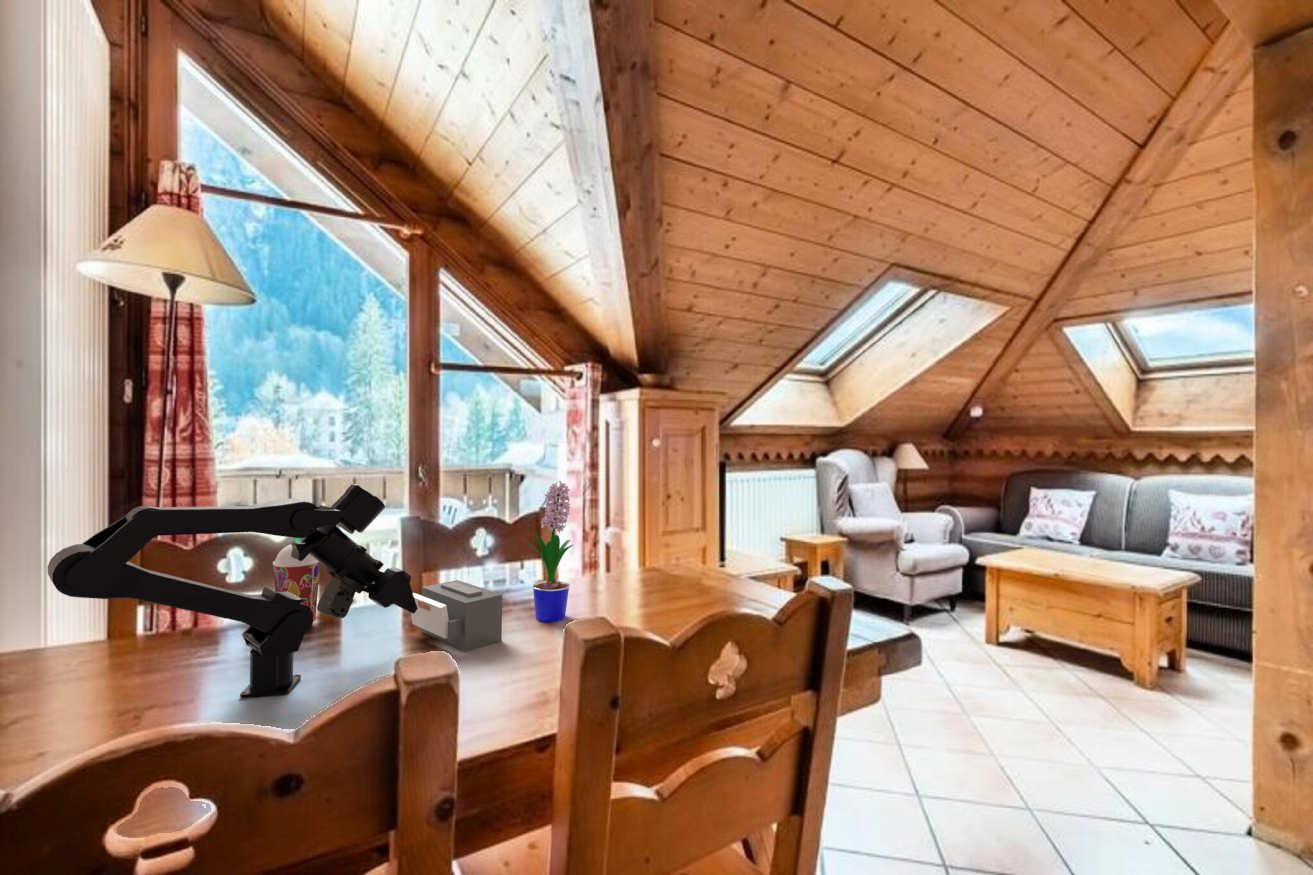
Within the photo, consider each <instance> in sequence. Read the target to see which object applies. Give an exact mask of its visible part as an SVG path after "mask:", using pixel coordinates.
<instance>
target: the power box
mask: <svg viewBox="0 0 1313 875" xmlns="http://www.w3.org/2000/svg"><path fill="white" fill-rule="evenodd" d="M421 596H424V597H426V598H429V599H431V600H434V601H437V602H439V603H442V604H444V605H447V612H448V619H449V621H448V638H446V639H445V638H442V637H440V636H438V635H436V634H434V633H431V632H429V631H427V630H425V629H422V628H420V632H422V634H425V635H428V636H430V637H432V638H434V639H436V640H438V641H441V642H443V643H445V644H447V645H449V646H451V647H454V648H456V649H458V650H460V651H463V652H469V651H471V650H475V649H478V648H481V647H485V646H489V645H492V644H494V643H497V642H498V643H499V642H502V639H503V638H502V637H503V636H502V634H503V633H502V632H503V631H502V630H503V629H502V628H503V625H502V624H503V593H502V594H501V593H498V592H495V591H492V590H490V589H488V588H487V589H486V588H483V587H479V586H477V585H475V584H474V585H473V584H471V583H467V582H464V581H461V580H459V579H457V580H451V581H446V582H441V583H435V584H431V585H424V586H422V587H421Z"/></svg>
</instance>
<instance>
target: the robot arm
mask: <svg viewBox="0 0 1313 875" xmlns="http://www.w3.org/2000/svg"><path fill="white" fill-rule="evenodd" d="M385 508H386V505H385V503H384V502H383V501H382V500H381V499H380V498H379V497H378V496H376V495H374V494H372V493H371V492H369V491H368V490H366V489H364V488H362V487H361V485H359V484H356V483H355V484H354V483H351V484H350V486H348V488H346V490H345V492H344V493H343V494H342V495H341V496H340V497H339V498H338V499H337V500H336V501H335V502H333V504H332V505H331V506H325V505H316V504H315V503H312V502H309V501H305V500H301V499H297V498H292V497H291V498H284V499H278V500H271V501H266V502H262V503H258V504H253V505H246V506H244V505H243V506H240V505H239V506H238V505H237V506H162V507H161V506H160V507H159V506H151V505H141V506H137V507H134V508H132V509H131V510H130V511H129V512H128V513H127V514H125V515H124V516H123V517H121V518H120V519H118V520H117V521H115V522H113V523H112V524H110V525H109V526H107V527H105V528H104V529H102V530H100V531H98V532H97V533H95V534H94V535H92V536H90V537H89V538H88V539H87V540H85V541H83V542H82V543H79V544H78V543H77V544H73V545H70V546H67V547H65V548H64V547H63V548H62V549H61V550H59V551H58V552H56V553H55V554H54V555H53V556H52V557H51V558H50V560H49V562H48V565H47V575H48V577H49V579H50V580H51V582H52V584H53V586H54V587H55V589H56V590H57V592H59V593H61V594H62V595H64V596H68V597H71V598H81V599H83V598H84V599H99V600H120V599H121V600H123V599H124V600H126V599H132V600H133V599H134V600H139V601H143V602H149V603H153V604H157V605H162V606H167V607H172V608H176V609H182V610H186V611H190V612H194V613H195V612H196V613H199V614H203V615H209V616H211V617H212V616H213V617H216V618H223V619H227V620H230V621H235V622H239V623H240V622H241V623H243V624H245V625H248V626H249V627H248V628H246V630H244V631H243V633H242V634H241V635H242V638H243V641H244V642H245V645H246V646H247V647H250V648H251V649H250V651H249V684H248V685H247V686H246V687H245V688H244V689H243V690H242V691H241V692H240V693H239V697H240V698H249V697H250V698H251V697H265V696H276V695H277V696H279V695H286V694H289V693H290V691H291V690H293V688H294V687H295V685H296V684H297V683H298V682H299V680H301V678H302V674H294V653H296V652H298V651H299V650H300V647H301V644H302V642H303V639H304V637H305V635H306V634H307V633H308V632H309V631H310V629H311V628H312V627H313V625H312V623H313V624H314V621H313V613H312V610H311V608H310V607H308V606H307V605H305V604H303V603H301V602H303V601H304V600H303V599H301V598H300V597H298V596H296V595H294V594H292V593H290V592H278V591H275V589H274V588H270V587H268V586H266V585H265V586H263V589H262V591H261V594H260V593H259V594H249V593H243V592H239V591H234V590H230V589H227V588H222V587H219V586H215V585H210V584H207V583H202V582H200V581H199V582H198V581H194V580H190V579H186V578H183V577H178V576H175V575H170V574H167V573H163V572H158V571H155V570H151V569H147V568H145V567H144V568H143V567H142V566H140V565H139V566H138V565H137V564H135V563H133V562H131V559H132V558H133V557H135V555H137V554H138V552H140V551H141V550H142V549H143V548H144V547H145V546H146V545H147V544H148V543H149V542H151V541H152V540H153V539H154V538H156V537H159V536H177V535H178V536H181V535H183V536H185V535H206V534H207V535H208V534H209V535H210V534H230V533H231V534H233V533H235V534H236V533H239V534H240V533H258V534H265V535H270V536H277V537H285V538H286V537H287V538H295V539H296V538H299V539H301V540H299V542H296V541H295V542H294V541H293V542H291V543H290V544H291V545H292V554H291V557H292V558H294V559H296V560H299V561H303V560H304V559H305V558H306V557H307V556H308V555H309V554H310V555H311V556H313V557H314V558H315V559H316V560H318V561H319V562H320V565H323V567H325V568H326V571H327V572H326V573H327V575H329V576H330V580H329V582H328V583H327V585H326V586H325V588H324V590H323V592H322V594H321V596H320V599H319V600H318V602H317V608H316V611H318V612H321V613H322V614H324V615H327V616H331V617H334V618H341V619H344V618H346V617H347V615H348V613H349V610H350V608H351V607H352V605H353V603H354V597H355V594H356V593H358V594H359V595H360V594H362V592H365V593H367V594H368V599H370V601H372V602H373V603H375V604H376V605H378V606H380V607H383V608H385V609H387V608H389V607H390V606H392V605H395V606H397V607H399V608H401V609H402V610H405V611H406V612H409V613H410V614H411V613H415V612H416V610H417V609H418V608H417V605H416V602H415V599H414V596H413V593H414V592H413V591H412V586H411V580H412V576H411V575H410V574H409V573H407V571H405V570H403V569H402V568H401V569H400V568H398V567H388V568H386V569H385V570H384V571H381V568H382V567H383V566H384V563H383V562H382V561H380V560H378V559H376V558H374V557H373V556H372V555H370V554H369V553H368V552H367V551H368V549H367V548H366V547H365V546H363V545H360V544H357V543H356V542H355V541H354V540H352V538H350V537H349V536H348V535H347V534H346V533H344V532H343V530H344V531H345V532H347V533H348V534H350V535H353V534H355V532H357V533H360V534H361V533H363V532H364V531H365V530H366V529H367V528H368V527H369V526H370V525H371V523H373V522H374V521H375V519H376V518H377V517H378V516H379V515H380V514H381V513H382V512H383V511H384V510H385ZM339 527H340V528H341V529H343V530H341V529H340V528H339ZM311 626H312V627H311Z"/></svg>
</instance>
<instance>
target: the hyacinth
mask: <svg viewBox="0 0 1313 875" xmlns="http://www.w3.org/2000/svg"><path fill="white" fill-rule="evenodd" d="M558 483H559V486H558ZM570 490H571V489H570V488H569V486H568V485H567V483H566V482H565V483H563V482H562V481H560V480H558V481H557V482H556V483H552V484H551V485H549V487H548V490H547V491H546V493H545V494H544V496H545V498H544V500H545V502H546V504H545V507H546V508H544V511H545V516H544V517H543V518H541V521H540V524H541V525H540V527H541V528H542V529H544V527H545V526H546V528H547V529H548V531H551V536H550V540H548V541H547V542H546V544H545V542H544V540H543V538H541V536H539V534H537V535H536V540H537V543H538V546H539V549H540V550H538V548H536V547H535V546H534V545H533V544H531V543H530V542H529V541H528V540H527V539H524V541H525V542H526V543H527V545H529V546H530V547H531V548H532V549H533V550H534V551H535V552H537V553H538V554H539V556H540V557H541V559H542V561H543V564H544V566H545V569H546V572H547V579H546V580H543V581H538V582H535V583H533V584H532V586H531V587H532V591H533V592H532V593H533V599H534V611H535V619H536V620H537V622H541V623H556V622H557V621H558V622H560V621H559V620H561V621H563V620H565V619H564V618H566V615H567V614H566V613H567V606H568V597H569V593H570V592H569V591H570V586H571V585H570V583H569V582H567V581H563V580H556V578H555V577H556V571H557V569H558V566H559V565H560V562H561V560H562V558H563V556H564V554H565V553H566V552H567V551H568V550H569V549H570V548H572V547H573V546H574V544H571V545H568V544H569V543H570V542H571V539H567V540H565V541H564V542H563V543H562V545H561V540H560V536H559V535H558V534H560V533H561V532H563V531H564V529H565V528H566V525H567V522H568V518H569V517H568V516H570V509H571V506H570V505H571V503H570V500H571V499H570V497H569V492H570ZM564 524H565V525H564ZM556 532H558V534H555V533H556ZM567 545H568V546H567ZM562 619H563V620H562Z"/></svg>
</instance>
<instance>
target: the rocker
mask: <svg viewBox="0 0 1313 875" xmlns="http://www.w3.org/2000/svg"><path fill="white" fill-rule="evenodd" d="M412 593H413V596H414V599H415V602H416V605H417V608H418V609H417V610H416V612H415V613H411V612H410V617H411V624H412V625H414V626H416V627H419V628H420V629H421V628H422V629H425V630H427V631H429V632H431V633H434V634H436V635H438V636H440V637H442V638H445V639H446V638H448V621H449V619H448V612H447V605H444V604H442V603H439V602H437V601H434V600H431V599H429V598H426V597H424V596H422V594H418V593H415V592H412Z"/></svg>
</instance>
